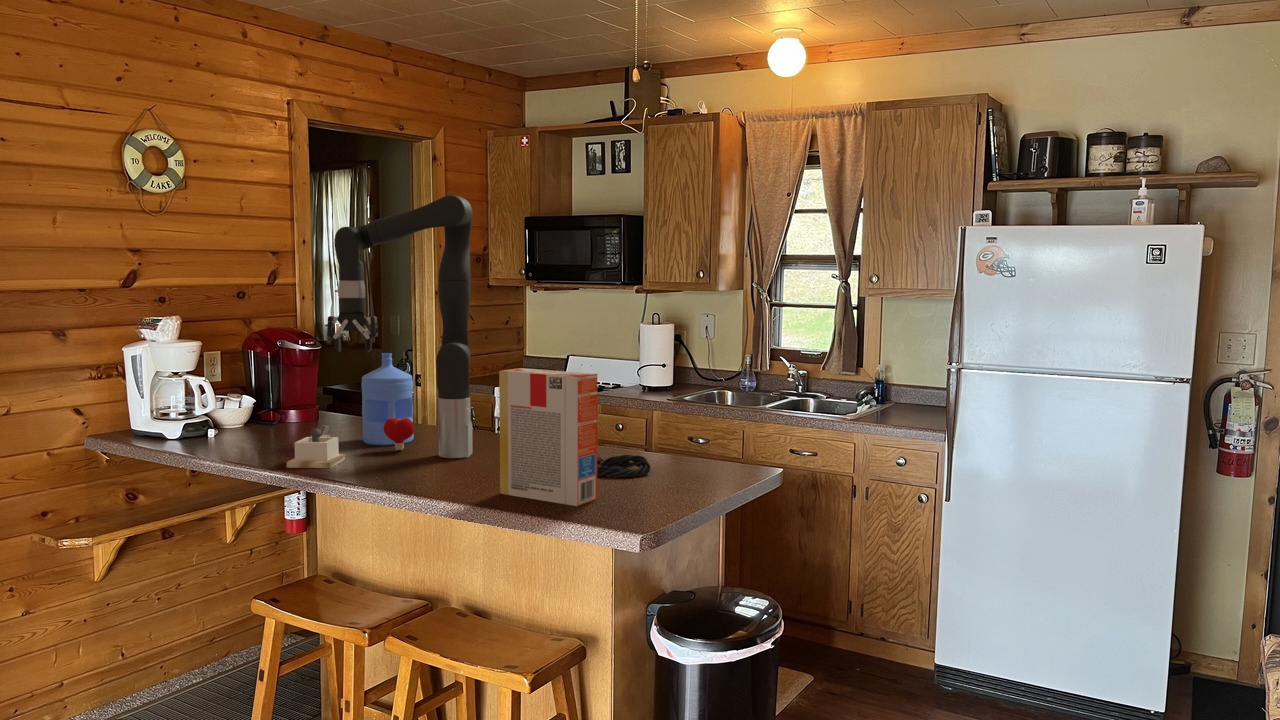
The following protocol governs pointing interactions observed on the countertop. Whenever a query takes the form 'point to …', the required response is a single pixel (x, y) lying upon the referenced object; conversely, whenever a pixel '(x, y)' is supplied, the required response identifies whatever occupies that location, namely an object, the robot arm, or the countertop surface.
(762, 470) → the countertop surface
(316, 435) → the beige peg base
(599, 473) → the cable
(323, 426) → the lighter
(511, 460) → the pasta box
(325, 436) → the white square frame
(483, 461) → the countertop surface
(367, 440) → the water jug
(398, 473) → the countertop surface
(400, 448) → the red heart
